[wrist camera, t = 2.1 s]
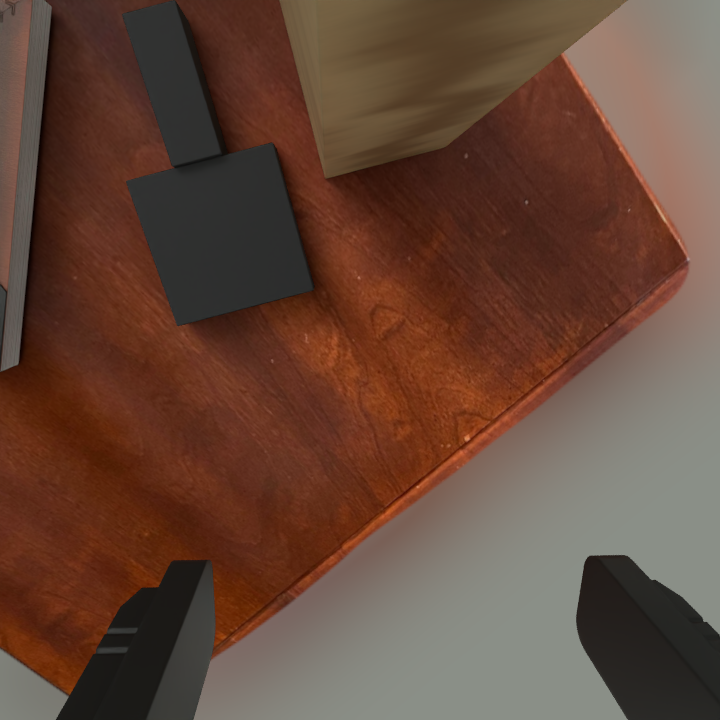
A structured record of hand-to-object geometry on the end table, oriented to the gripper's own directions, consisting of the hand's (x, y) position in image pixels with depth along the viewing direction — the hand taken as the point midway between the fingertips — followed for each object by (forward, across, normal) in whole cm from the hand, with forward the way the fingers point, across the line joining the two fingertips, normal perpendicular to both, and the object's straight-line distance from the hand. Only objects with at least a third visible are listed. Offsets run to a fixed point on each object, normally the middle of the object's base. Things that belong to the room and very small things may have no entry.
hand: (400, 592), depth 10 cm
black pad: (+24, +9, -11) cm, 28 cm away
